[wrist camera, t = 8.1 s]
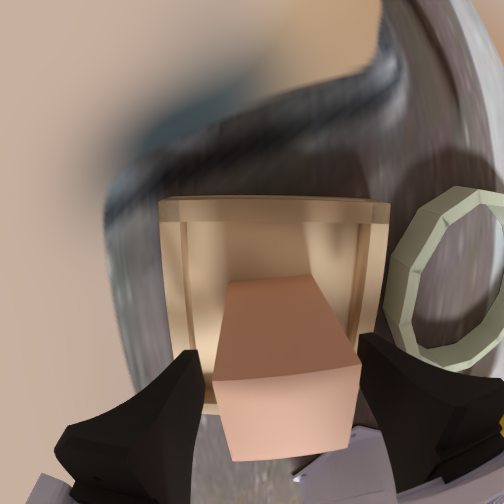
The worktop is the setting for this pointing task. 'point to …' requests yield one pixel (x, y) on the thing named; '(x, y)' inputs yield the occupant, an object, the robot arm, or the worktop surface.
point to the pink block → (283, 371)
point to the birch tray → (267, 260)
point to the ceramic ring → (409, 270)
